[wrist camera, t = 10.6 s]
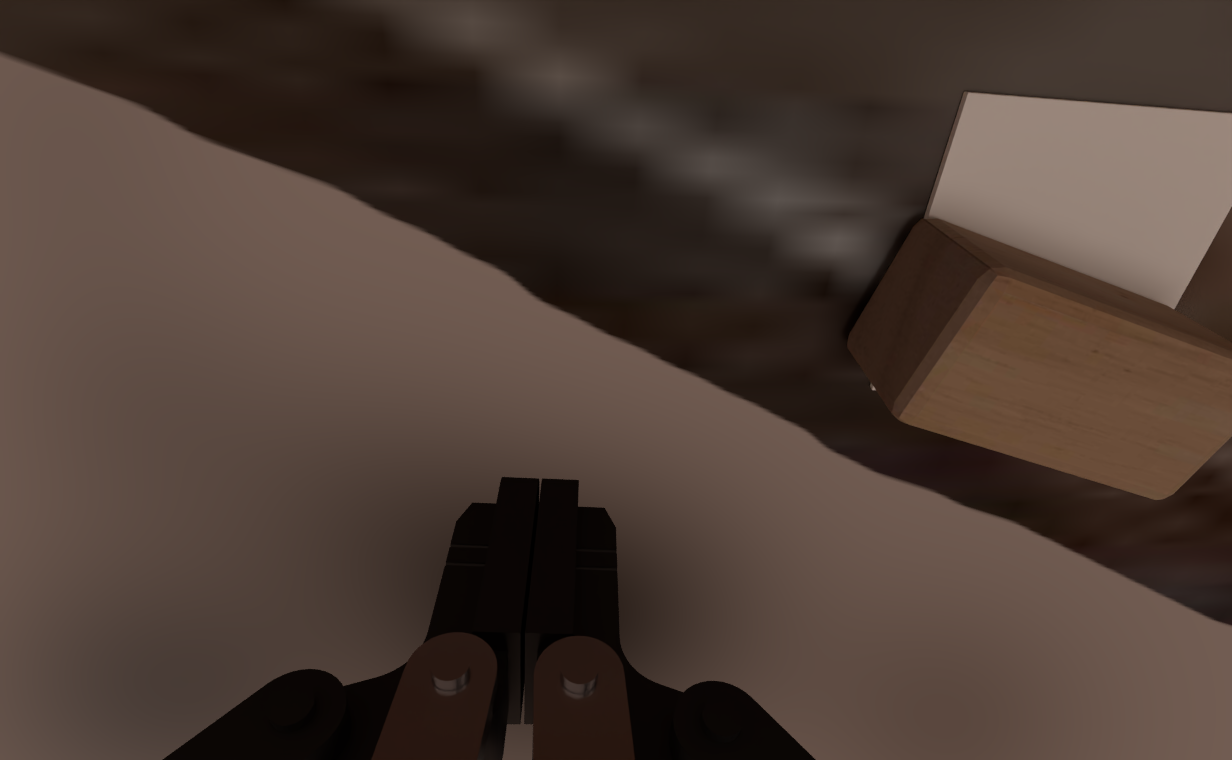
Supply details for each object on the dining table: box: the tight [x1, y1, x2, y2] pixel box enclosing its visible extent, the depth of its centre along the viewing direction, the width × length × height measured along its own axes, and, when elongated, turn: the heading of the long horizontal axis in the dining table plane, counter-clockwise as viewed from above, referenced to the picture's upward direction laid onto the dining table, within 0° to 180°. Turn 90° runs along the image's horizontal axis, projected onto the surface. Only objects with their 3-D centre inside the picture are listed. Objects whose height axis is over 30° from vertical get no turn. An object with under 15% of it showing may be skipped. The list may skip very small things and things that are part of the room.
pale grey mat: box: [870, 91, 1232, 390], centre depth 44 cm, size 20×19×1 cm
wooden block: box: [847, 218, 1232, 500], centre depth 41 cm, size 10×10×20 cm
